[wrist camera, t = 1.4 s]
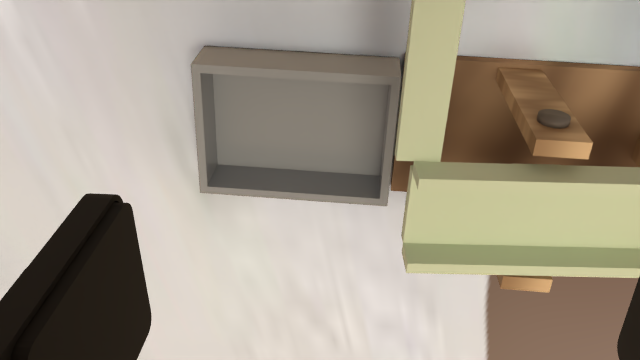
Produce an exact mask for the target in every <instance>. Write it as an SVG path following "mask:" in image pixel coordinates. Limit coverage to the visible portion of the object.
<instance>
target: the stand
mask: <svg viewBox="0 0 640 360" xmlns="http://www.w3.org/2000/svg"><path fill="white" fill-rule="evenodd" d="M405 57H406V53H405ZM404 66H405V60H404ZM403 74H404V69H403ZM402 83H403V78H402ZM401 92H402V87H401ZM400 101H401V96H400ZM399 110H400V105H399ZM398 119H399V114H398ZM397 128H398V123H397ZM396 137H397V132H396ZM395 146H396V141H395ZM440 162H462V163H499V164H512V163H517V164H554V165H573V166H610V167H640V67H635V66H618V65H602V64H585V63H569V62H552V61H536V60H519V59H503V58H486V57H470V56H457V58H456V65H455V71H454V77H453V84H452V90H451V97H450V103H449V109H448V116H447V122H446V129H445V135H444V141H443V148H442V154H441V160H440ZM413 164H414V161H396V158H395V150H394V159H393V167H392V176H391V191H404V192H407V188H408V180H409V173H410V165H413ZM497 278H498V282H499V285H500V288H501V289H512V290H525V291H537V292H549V291H550V288H551V284H552V281H553V279H552V277H551V276H526V275H497Z"/></svg>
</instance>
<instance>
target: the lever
mask: <svg viewBox="0 0 640 360" xmlns="http://www.w3.org/2000/svg"><path fill="white" fill-rule="evenodd" d="M465 1H466V0H412V3H411V12H410V21H409V30H408V39H407V48H406V57H405V66H404V74H403V83H402V92H401V101H400V110H399V119H398V128H397V137H396V146H395V158H396V161H414V164H413V165H410V173H409V180H408V188H407V196H406V204H405V212H404V219H403V227H402V235H401V236H402V240H403V248H402V255H403V260H404V265H405V269H406V273H432V274H479V275H526V276H574V277H579V276H580V277H621V278H639V277H640V167H610V166H573V165H554V164H517V163H512V164H499V163H462V162H440V160H441V154H442V148H443V141H444V135H445V129H446V122H447V116H448V109H449V103H450V97H451V90H452V84H453V77H454V71H455V65H456V58H457V52H458V45H459V39H460V33H461V26H462V20H463V13H464V7H465Z"/></svg>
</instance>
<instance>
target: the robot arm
mask: <svg viewBox="0 0 640 360" xmlns="http://www.w3.org/2000/svg"><path fill="white" fill-rule="evenodd" d="M150 326H151V309H150V304H149V298H148V293H147V287H146V282H145V276H144V271H143V265H142V260H141V254H140V249H139V243H138V238H137V232H136V227H135V221H134V216H133V211H132V207H131V205H130V204H129V203H123V201H122V199H121V197H120V196H119V195H112V194H86V195H84V196H83V197H82V199H81V200H80V201H79V202H78V204H77V205H76V206H75V208H74V209H73V210H72V211H71V213H70V214H69V215H68V216H67V218H66V219H65V220H64V222H63V223H62V224H61V225H60V227H59V228H58V229H57V230H56V232H55V233H54V234H53V236H52V237H51V238H50V239H49V241H48V242H47V243H46V244H45V246H44V247H43V248H42V250H41V251H40V252H39V253H38V255H37V256H36V257H35V258H34V260H33V261H32V262H31V264H30V265H29V266H28V267H27V268H26V269H25V270H24V271H23V273H22V274H21V275H20V276H19V278H18V279H17V280H16V282H15V283H14V284H13V285H12V287H11V288H10V289H9V290H8V292H7V293H6V294H5V295H4V297H3V298H2V299H1V301H0V360H137V358H138V356H139V353H140V351H141V349H142V347H143V344H144V342H145V340H146V338H147V335H148V333H149V330H150ZM617 346H618V347H617V348H618V356H619V359H620V360H640V277H639V279H638V283H637V286H636V288H635V291H634V294H633V297H632V300H631V303H630V306H629V309H628V312H627V315H626V318H625V321H624V324H623V327H622V330H621V332H620V335H619V339H618V345H617Z"/></svg>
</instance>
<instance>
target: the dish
mask: <svg viewBox="0 0 640 360" xmlns="http://www.w3.org/2000/svg"><path fill="white" fill-rule="evenodd" d="M191 73H192V87H193V101H194V115H195V128H196V142H197V156H198V170H199V184H200V193H211V194H224V195H238V196H252V197H266V198H280V199H294V200H308V201H321V202H335V203H349V204H363V205H377V206H387V203H388V194H389V185H390V176H391V167H392V158H393V149H394V140H395V131H396V122H397V113H398V104H399V95H400V86H401V69H400V60H399V58H397V57H381V56H364V55H348V54H332V53H315V52H299V51H282V50H266V49H250V48H233V47H217V46H204V48H203V49H202V50H201V52H200V53H199V54H198V55H197V57H196V58H195V59H194V61H193V62H192V63H191Z"/></svg>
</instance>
